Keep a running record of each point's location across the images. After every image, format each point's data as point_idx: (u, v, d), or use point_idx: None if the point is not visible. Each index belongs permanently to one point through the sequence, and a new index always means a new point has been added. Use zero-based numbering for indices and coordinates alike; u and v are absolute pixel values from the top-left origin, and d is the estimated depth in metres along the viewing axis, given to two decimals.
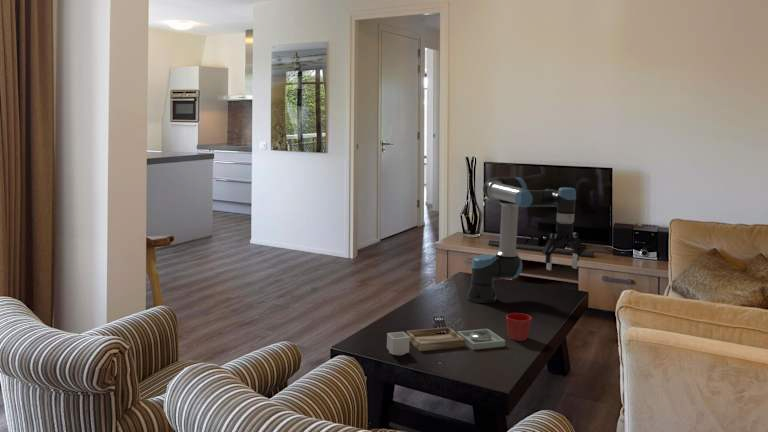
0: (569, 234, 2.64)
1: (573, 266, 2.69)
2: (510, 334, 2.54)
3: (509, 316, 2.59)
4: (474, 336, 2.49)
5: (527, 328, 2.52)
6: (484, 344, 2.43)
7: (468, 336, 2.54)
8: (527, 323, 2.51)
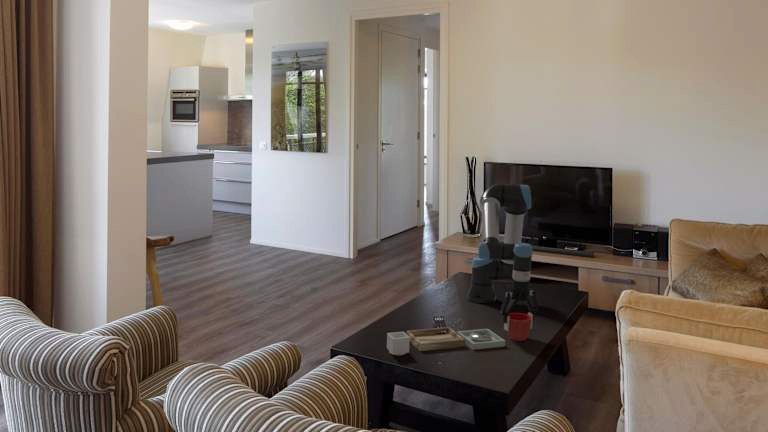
0: (526, 291, 2.53)
1: None
2: (510, 334, 2.54)
3: None
4: (474, 336, 2.49)
5: (527, 328, 2.52)
6: (484, 344, 2.43)
7: (468, 336, 2.54)
8: (527, 323, 2.51)
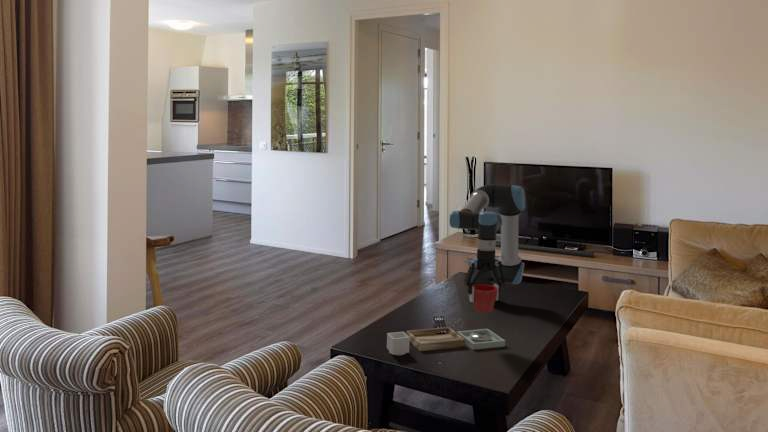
0: (491, 261, 2.46)
1: None
2: (475, 305, 2.47)
3: (475, 287, 2.51)
4: (474, 336, 2.49)
5: (492, 299, 2.45)
6: (484, 344, 2.43)
7: (468, 336, 2.54)
8: (493, 294, 2.44)
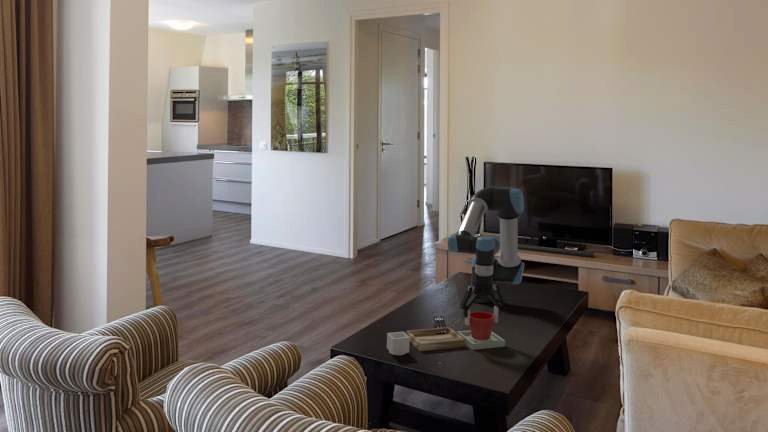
0: (488, 286, 2.47)
1: (494, 320, 2.52)
2: (473, 333, 2.48)
3: (472, 315, 2.53)
4: None
5: (490, 327, 2.46)
6: (484, 344, 2.43)
7: (468, 336, 2.54)
8: (490, 322, 2.45)
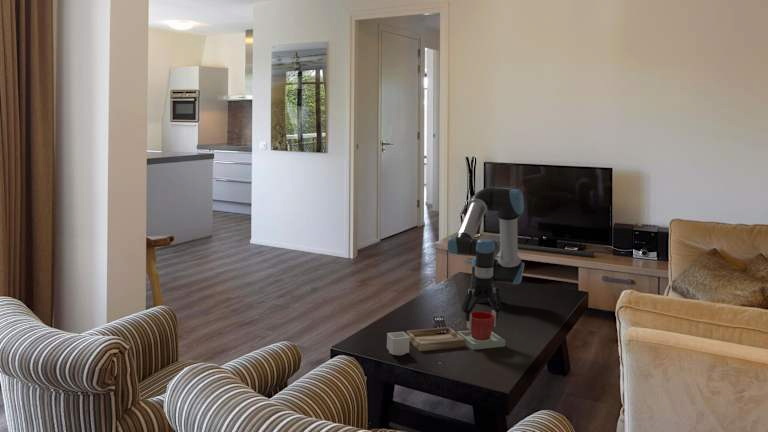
0: (488, 288, 2.47)
1: None
2: (473, 333, 2.48)
3: (472, 315, 2.53)
4: None
5: (490, 327, 2.46)
6: (484, 344, 2.43)
7: (468, 336, 2.54)
8: (490, 322, 2.45)
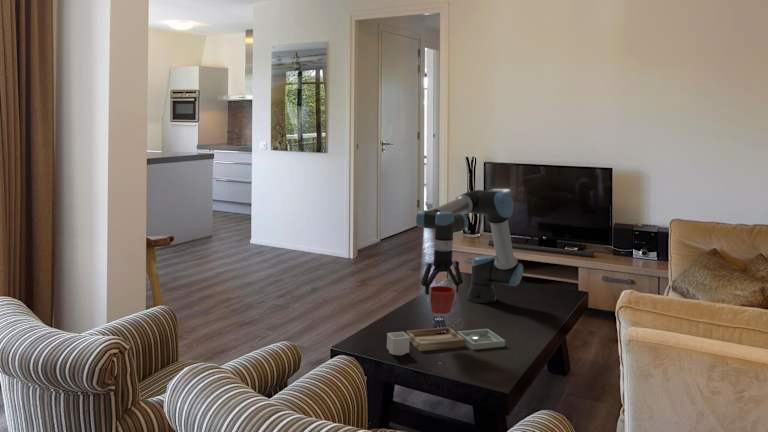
0: (448, 262, 2.44)
1: None
2: (432, 307, 2.45)
3: (433, 289, 2.50)
4: (474, 338, 2.49)
5: (449, 301, 2.43)
6: (484, 344, 2.43)
7: (468, 336, 2.54)
8: (449, 295, 2.42)
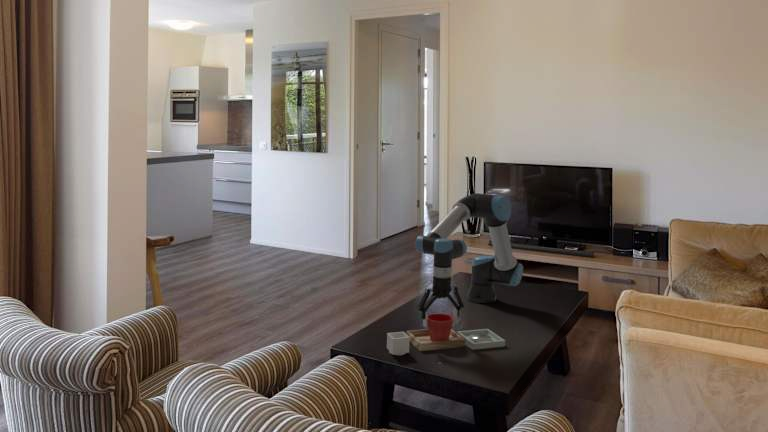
0: (447, 288, 2.46)
1: (453, 322, 2.51)
2: (431, 335, 2.47)
3: (431, 317, 2.52)
4: (474, 338, 2.49)
5: (447, 329, 2.45)
6: (484, 344, 2.43)
7: (468, 336, 2.54)
8: (447, 324, 2.44)
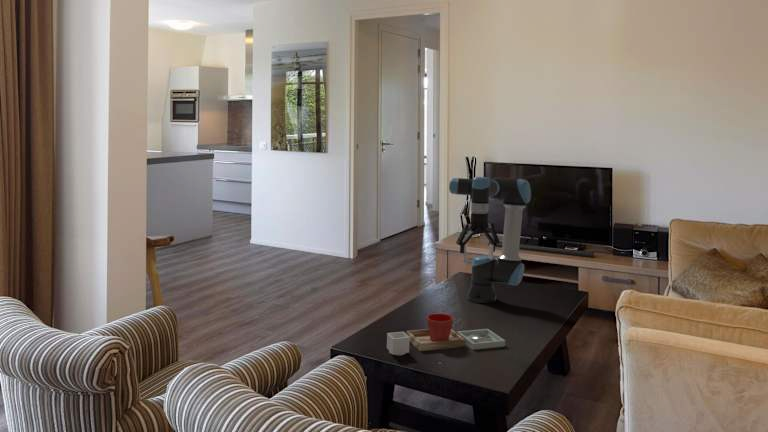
0: (484, 224, 2.60)
1: (489, 257, 2.65)
2: (431, 335, 2.47)
3: (431, 317, 2.52)
4: (474, 338, 2.49)
5: (447, 329, 2.45)
6: (484, 344, 2.43)
7: (468, 336, 2.54)
8: (447, 324, 2.44)
